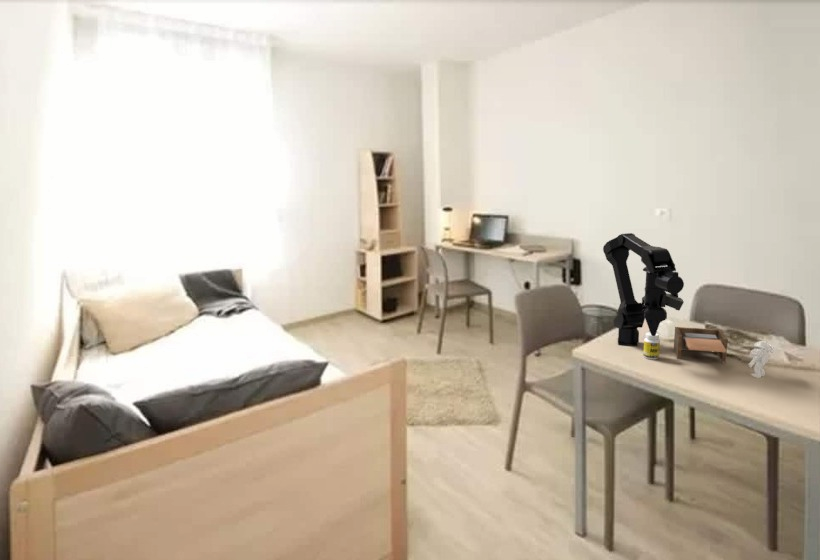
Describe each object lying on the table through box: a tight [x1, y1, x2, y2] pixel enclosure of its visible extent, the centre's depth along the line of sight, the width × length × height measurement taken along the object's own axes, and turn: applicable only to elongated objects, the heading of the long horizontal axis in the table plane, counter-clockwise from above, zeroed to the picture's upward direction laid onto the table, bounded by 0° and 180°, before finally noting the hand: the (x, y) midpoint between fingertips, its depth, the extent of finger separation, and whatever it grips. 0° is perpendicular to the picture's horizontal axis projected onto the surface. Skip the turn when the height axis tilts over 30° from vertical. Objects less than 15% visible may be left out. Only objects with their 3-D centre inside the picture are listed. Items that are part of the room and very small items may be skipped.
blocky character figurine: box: [748, 340, 774, 379], centre depth 147 cm, size 9×4×12 cm, turn 117°
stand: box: [673, 326, 729, 363], centre depth 165 cm, size 14×10×8 cm
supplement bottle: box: [642, 331, 660, 360], centre depth 165 cm, size 5×5×8 cm
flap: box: [683, 333, 726, 353], centre depth 159 cm, size 11×14×4 cm
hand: (652, 331), depth 164 cm, fingers open, 9 cm apart
